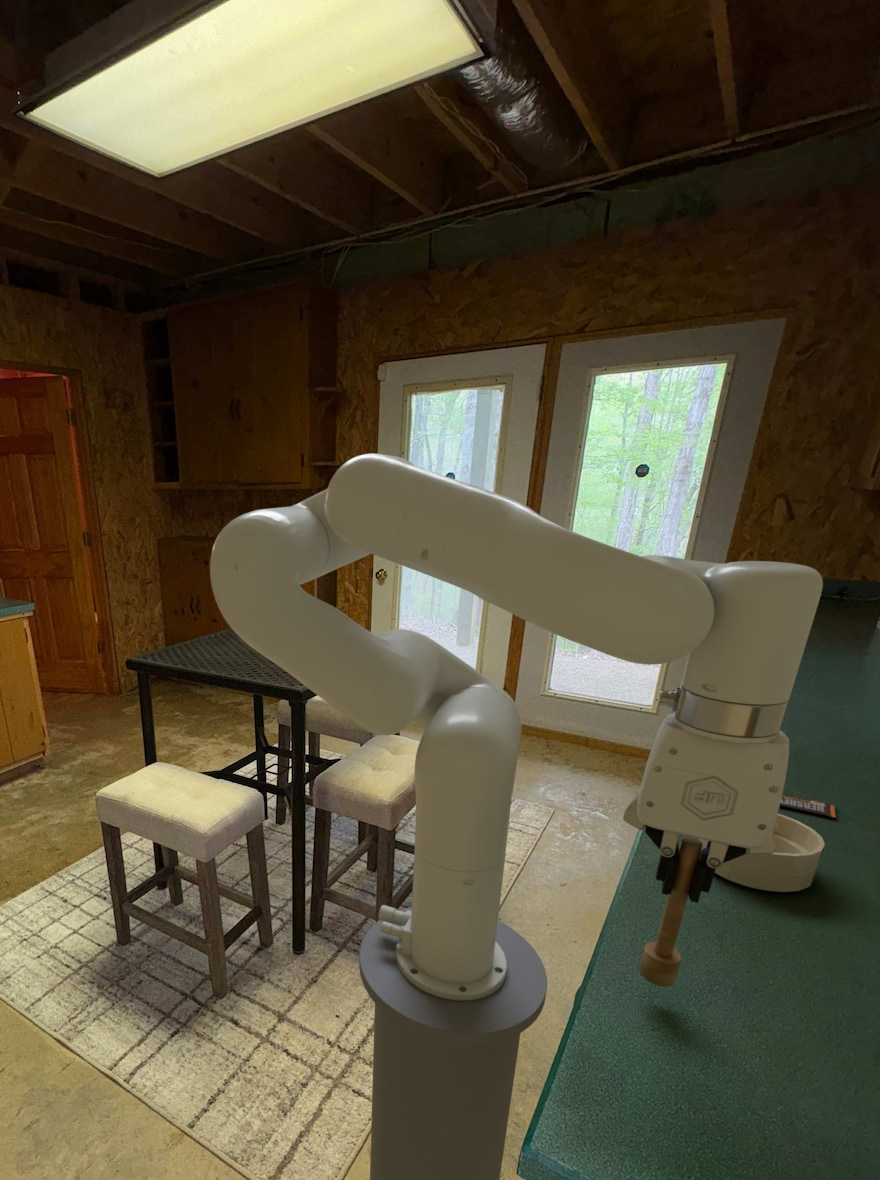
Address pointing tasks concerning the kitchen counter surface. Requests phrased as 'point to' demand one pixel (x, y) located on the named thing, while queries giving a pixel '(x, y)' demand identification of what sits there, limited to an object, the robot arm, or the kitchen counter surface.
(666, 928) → the stick
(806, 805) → the chocolate bar
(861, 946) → the kitchen counter surface
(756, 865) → the bowl
